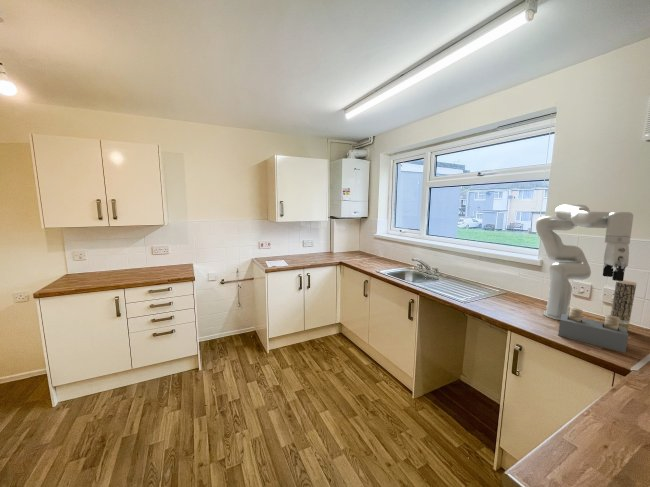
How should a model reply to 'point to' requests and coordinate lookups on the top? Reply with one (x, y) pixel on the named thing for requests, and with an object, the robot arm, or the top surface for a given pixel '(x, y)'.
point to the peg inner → (575, 314)
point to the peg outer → (611, 322)
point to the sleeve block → (593, 333)
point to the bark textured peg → (623, 301)
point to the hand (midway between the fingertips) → (612, 278)
